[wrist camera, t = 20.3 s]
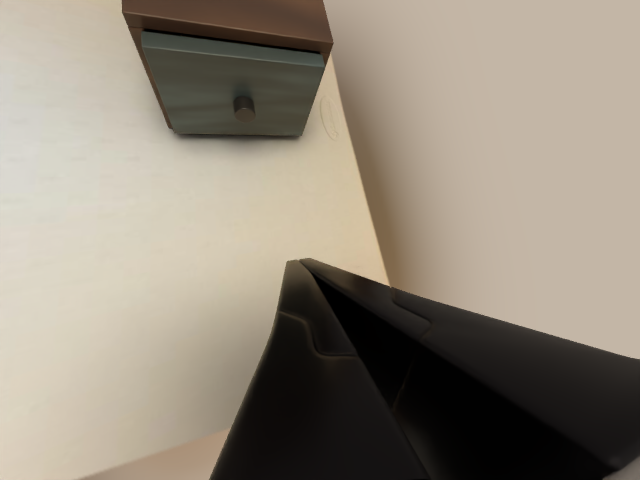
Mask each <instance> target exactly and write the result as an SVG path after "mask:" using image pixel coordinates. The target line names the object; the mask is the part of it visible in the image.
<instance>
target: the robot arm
mask: <svg viewBox="0 0 640 480" xmlns="http://www.w3.org/2000/svg"><path fill="white" fill-rule="evenodd" d="M209 480H640V359H635V358H630V357H626V356H622V355H618V354H615V353H611V352H608V351H605V350H601V349H598V348H594V347H591V346H588V345H584V344H581V343H577V342H574V341H570V340H567V339H563V338H560V337H556V336H553V335H549V334H546V333H543V332H539V331H535V330H532V329H529V328H525V327H522V326H518V325H515V324H512V323H508V322H505V321H501V320H498V319H494V318H491V317H488V316H484V315H481V314H477V313H474V312H471V311H467V310H464V309H460V308H457V307H453V306H449V305H446V304H442V303H440V302H436V301H432V300H430V299H426V298H423V297H420V296H417V295H414V294H410V293H408V292H405V291H402V290H399V289H396V288H394V287H391V288H390V287H389V286H387V285H384V284H381V283H378V282H375V281H373V280H370V279H367V278H364V277H361V276H359V275H356V274H353V273H350V272H347V271H345V270H342V269H339V268H336V267H333V266H331V265H328V264H325V263H322V262H319V261H317V260H314V259H311V258H305V259H300V260H299V261H298V260H291V261H287V262H286V267H285V272H284V277H283V282H282V286H281V291H280V296H279V301H278V306H277V311H276V315H275V320H274V323H273V327H272V331H271V334H270V337H269V339H268V342H267V345H266V347H265V350H264V352H263V354H262V357H261V359H260V361H259V364H258V366H257V369H256V371H255V373H254V376H253V378H252V380H251V383H250V385H249V387H248V390H247V392H246V394H245V397H244V399H243V401H242V404H241V406H240V408H239V411H238V413H237V415H236V418H235V420H234V423H233V425H232V427H231V430H230V432H229V434H228V437H227V439H226V441H225V444H224V446H223V448H222V451H221V453H220V456H219V458H218V460H217V462H216V465H215V467H214V469H213V472H212V474H211V477H210V479H209Z"/></svg>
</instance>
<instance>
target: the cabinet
mask: <svg viewBox="0 0 640 480" xmlns="http://www.w3.org/2000/svg"><path fill="white" fill-rule="evenodd" d="M122 13H123V16H124V18H125V20H126V23H127V25H128V28H129V31H130V33H131V36H132V38H133V40H134V43H135V45H136V48H137V50H138V53H139V55H140V58H141V60H142V63H143V65H144V68H145V70H146V73H147V75H148V78H149V80H150V83H151V85H152V88H153V90H154V93H155V95H156V97H157V100H158V102H159V105H160V107H161V110H162V112H163V115H164V117H165V120H166V122H167V125H168V127H169V128H173V127H172V125H171V122H170V119H169V117H168V114H167V112H166V109H165V106H164V104H163V101H162V99H161V96H160V93H159V91H158V88H157V85H156V83H155V80H154V78H153V75H152V72H151V70H150V67H149V64H148V62H147V59H146V57H145V54H144V51H143V49H142V42H141V31H145V32H153V33H159V32H158V30H161V31H168V32H176V33H183V34H191V35H198V36H206V37H213V38H221V39H228V40H236V41H243V42H251V43H258V44H266V45H274V46H281V47H289V48H296V49H304V50H307V53H315V54H322V56H323V60H324V65H325V67H326V64H327V61H328V58H329V55H330V52H331V49H332V46H333V39H332V35H331V31H330V27H329V23H328V19H327V15H326V11H325V7H324V3H323V0H122ZM324 70H325V69H324ZM323 73H324V72H323ZM322 76H323V75H322ZM321 79H322V78H321ZM320 82H321V81H320ZM314 99H315V98H314ZM313 102H314V101H313ZM312 105H313V104H312ZM311 108H312V107H311ZM310 111H311V110H310ZM309 114H310V113H309ZM308 117H309V116H308Z"/></svg>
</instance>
